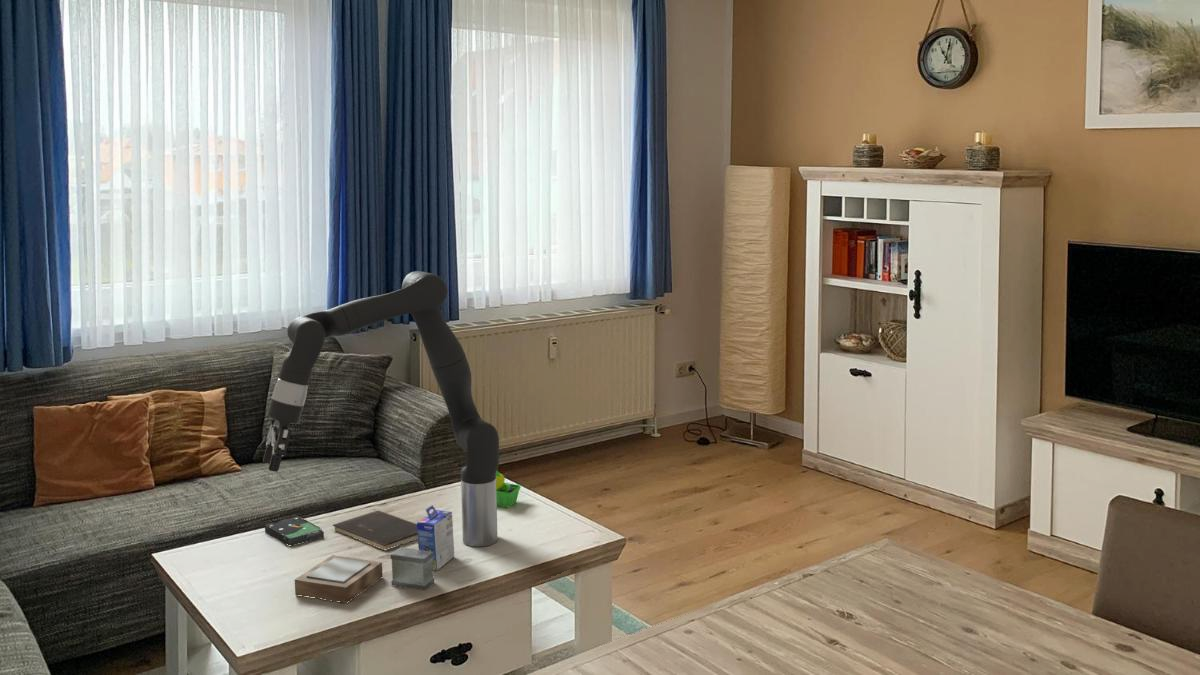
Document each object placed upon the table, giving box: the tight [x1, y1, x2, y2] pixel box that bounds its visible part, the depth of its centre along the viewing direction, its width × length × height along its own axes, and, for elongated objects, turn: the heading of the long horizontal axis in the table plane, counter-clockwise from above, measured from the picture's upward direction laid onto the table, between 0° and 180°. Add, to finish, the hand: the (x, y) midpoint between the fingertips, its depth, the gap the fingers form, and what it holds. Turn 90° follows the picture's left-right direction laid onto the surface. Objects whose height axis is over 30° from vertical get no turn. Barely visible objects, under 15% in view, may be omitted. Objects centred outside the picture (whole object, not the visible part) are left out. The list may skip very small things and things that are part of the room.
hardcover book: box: [332, 509, 418, 549], centre depth 296 cm, size 16×23×2 cm
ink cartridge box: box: [416, 505, 455, 571], centre depth 274 cm, size 10×6×14 cm, turn 161°
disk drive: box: [264, 515, 325, 546], centre depth 294 cm, size 10×3×15 cm
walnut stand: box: [294, 554, 384, 604], centre depth 260 cm, size 16×14×4 cm
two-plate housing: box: [389, 546, 435, 591], centre depth 261 cm, size 5×9×8 cm, turn 71°
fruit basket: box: [496, 470, 522, 508], centre depth 318 cm, size 11×9×11 cm
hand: (270, 466), depth 254 cm, fingers open, 8 cm apart
